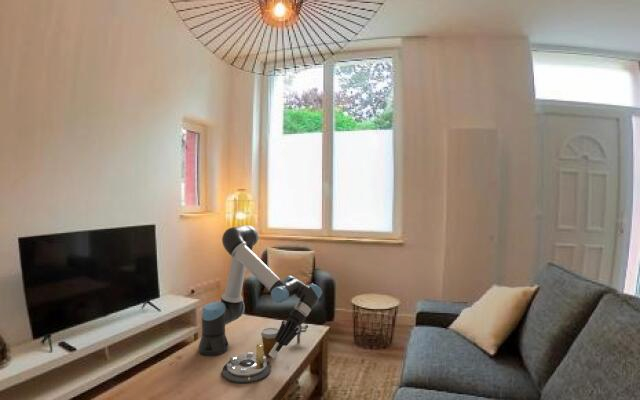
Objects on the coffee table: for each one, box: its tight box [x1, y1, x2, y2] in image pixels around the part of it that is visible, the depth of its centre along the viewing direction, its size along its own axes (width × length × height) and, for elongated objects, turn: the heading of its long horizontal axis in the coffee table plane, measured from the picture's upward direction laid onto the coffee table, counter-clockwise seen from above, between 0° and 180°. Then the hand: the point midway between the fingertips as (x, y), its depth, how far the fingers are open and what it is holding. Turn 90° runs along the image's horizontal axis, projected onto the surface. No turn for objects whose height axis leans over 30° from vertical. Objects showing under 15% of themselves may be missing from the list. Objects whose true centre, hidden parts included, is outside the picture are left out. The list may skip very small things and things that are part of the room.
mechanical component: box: [296, 324, 309, 344], centre depth 206 cm, size 3×10×10 cm, turn 89°
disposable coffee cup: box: [260, 327, 279, 358], centre depth 191 cm, size 10×10×12 cm
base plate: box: [221, 360, 272, 385], centre depth 173 cm, size 22×22×2 cm
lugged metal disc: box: [226, 343, 268, 377], centre depth 173 cm, size 18×18×12 cm
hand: (271, 356), depth 173 cm, fingers closed
